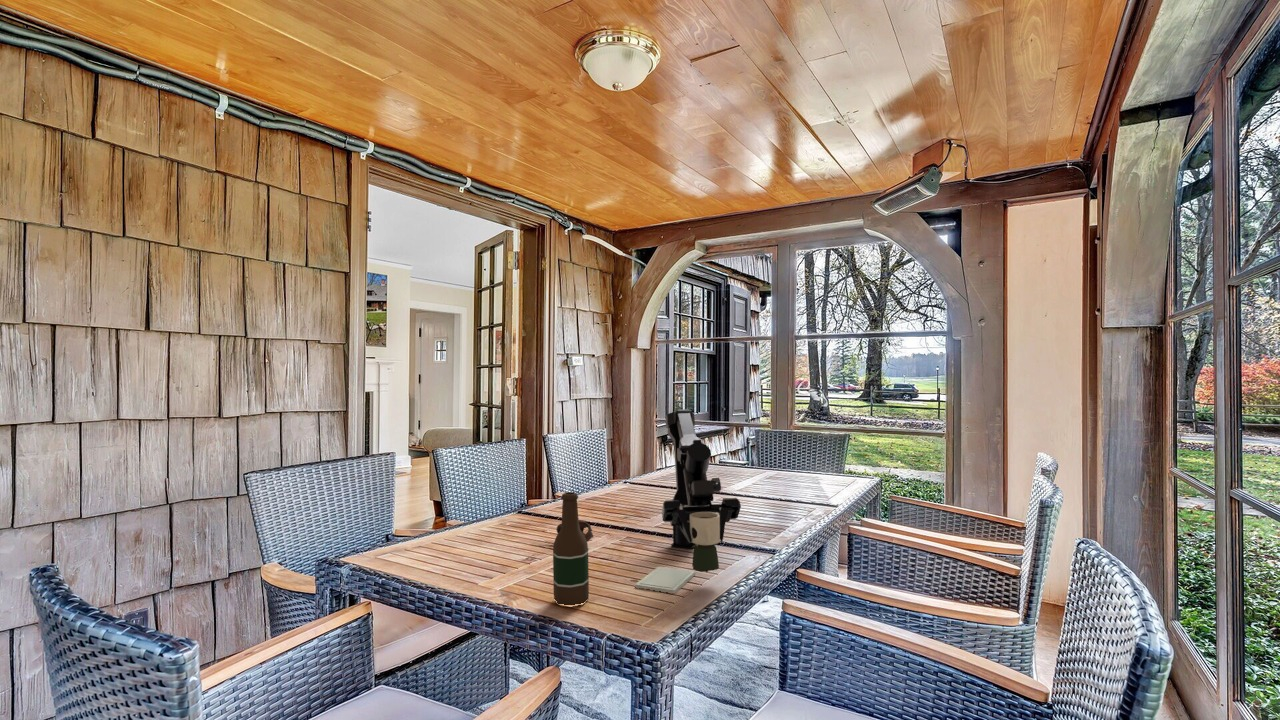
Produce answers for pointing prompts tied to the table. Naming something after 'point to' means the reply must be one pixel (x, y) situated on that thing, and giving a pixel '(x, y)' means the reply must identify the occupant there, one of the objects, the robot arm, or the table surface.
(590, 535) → the pottery mug
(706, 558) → the character mug
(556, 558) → the beer bottle
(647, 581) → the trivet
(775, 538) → the table surface
